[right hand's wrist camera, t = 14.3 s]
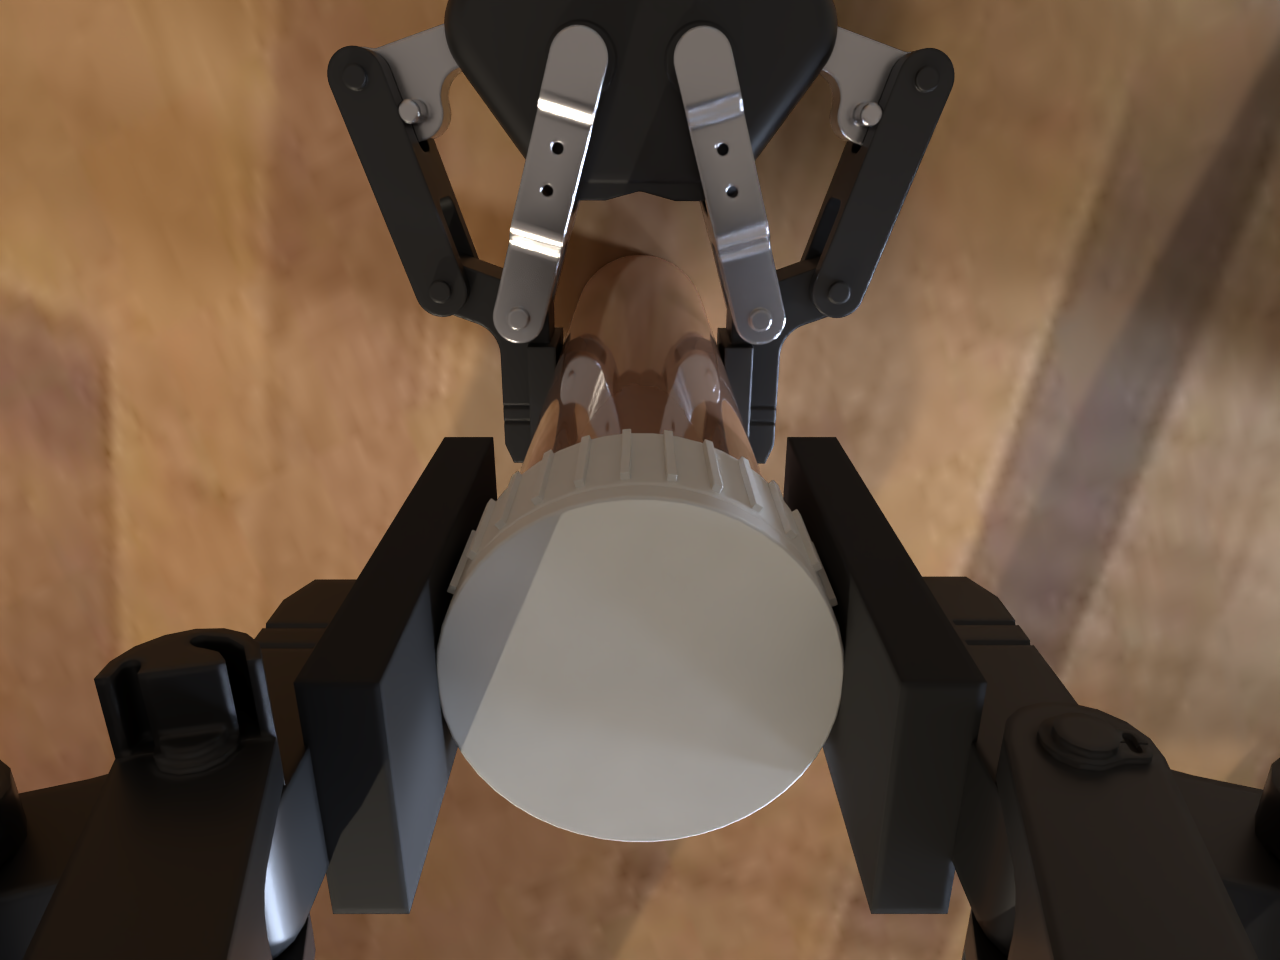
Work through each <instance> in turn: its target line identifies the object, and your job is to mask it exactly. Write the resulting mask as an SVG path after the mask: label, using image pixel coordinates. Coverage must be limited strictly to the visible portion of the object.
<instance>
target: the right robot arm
mask: <svg viewBox="0 0 1280 960" xmlns="http://www.w3.org/2000/svg"><path fill="white" fill-rule="evenodd" d="M490 499H493V500H495V501H497V489H496V473H495V458H494V442H493V437H445V438H444V439H443V441H442V442H441V444H440V446H439V447H438V449H437V450H436V452H435V454H434V455H433V457H432V459H431V460H430V462H429V463H428V465H427V467H426V468H425V470H424V472H423V473H422V475H421V476H420V478H419V480H418V481H417V483H416V485H415V486H414V488H413V489H412V491H411V493H410V494H409V496H408V497H407V499H406V501H405V502H404V504H403V506H402V507H401V509H400V510H399V512H398V514H397V515H396V517H395V519H394V520H393V522H392V523H391V525H390V527H389V528H388V530H387V532H386V533H385V535H384V536H383V538H382V540H381V541H380V543H379V545H378V546H377V548H376V549H375V551H374V553H373V554H372V556H371V557H370V559H369V561H368V562H367V564H366V566H365V567H364V569H363V570H362V572H361V574H360V575H359V577H358V579H357V580H314V581H312V582H311V583H309V584H308V585H306V586H304V587H303V588H301V589H300V590H298V591H297V592H295V593H294V594H292V595H291V596H289V597H287V598H286V599H284V600H283V601H282V603H281V604H280V605H279V607H278V608H277V610H276V611H275V612H274V614H273V615H272V616H271V618H270V619H269V620H268V622H267V623H266V628H262V630H261V631H260V632H259V634H258V635H257V636H256V638H255V639H253V638H252V637H250V636H249V635H248V634H246V633H242V632H238V631H234V630H229V629H225V628H218V629H193V630H188V631H183V632H178V633H173V634H168V635H164V636H161V637H159V638H156V639H153V640H151V641H148V642H145V643H143V644H140V645H137V646H135V647H133V648H131V649H130V650H128V651H126V652H125V653H123V654H122V655H120V656H118V657H117V658H115V659H113V660H112V661H110V662H109V663H108V664H107V665H106V666H105V667H104V668H103V670H102V671H101V672H100V673H99V674H98V675H97V676H96V677H95V678H94V681H95V685H96V689H97V692H98V696H99V700H100V703H101V707H102V711H103V714H104V718H105V722H106V726H107V729H108V733H109V737H110V740H111V744H112V748H113V751H114V755H115V761H114V763H113V765H112V767H111V770H110V772H109V774H106V775H102V776H99V777H95V778H91V779H87V780H83V781H78V782H73V783H68V784H63V785H58V786H53V787H49V788H44V789H39V790H34V791H29V792H24V793H19V794H18V790H17V787H16V784H15V781H14V778H13V775H12V772H11V769H10V768H9V767H8V766H7V765H6V764H5V763H3V762H2V761H1V760H0V960H314V959H315V943H314V936H313V929H312V924H311V918H310V913H309V912H310V909H311V907H312V905H313V902H314V900H315V897H316V895H317V893H318V890H319V888H320V885H321V883H322V881H323V878H324V876H325V874H326V875H327V881H328V887H329V893H330V899H331V904H332V910H333V914H409V913H410V910H411V906H412V903H413V899H414V896H415V893H416V889H417V886H418V882H419V879H420V875H421V872H422V868H423V865H424V862H425V858H426V855H427V851H428V848H429V844H430V841H431V838H432V834H433V831H434V827H435V824H436V820H437V817H438V813H439V810H440V807H441V803H442V800H443V796H444V793H445V789H446V786H447V782H448V779H449V776H450V772H451V769H452V765H453V762H454V758H455V755H456V752H457V748H458V746H457V744H456V742H455V741H454V739H453V737H452V735H451V733H450V730H449V728H448V725H447V723H446V721H445V718H444V716H443V712H442V708H441V704H440V696H439V686H438V676H437V664H436V654H437V645H438V640H439V636H440V631H441V627H442V623H443V621H444V618H445V616H446V613H447V610H448V608H449V605H450V603H451V600H452V598H453V595H454V594H451V593H449V592H447V590H448V587H449V585H450V583H451V580H452V578H453V575H454V573H455V570H456V568H457V565H458V563H459V561H460V558H461V556H462V553H463V551H464V548H465V546H466V544H467V541H468V539H469V536H470V534H471V531H472V530H474V531H476V530H477V527H478V525H479V522H480V520H481V517H482V515H483V512H484V510H485V507H486V505H487V503H488V502H489V500H490ZM783 499H784V502H785V503H786V504H787V506H788V507H789V508H790V510H791V511H794V510H796V509H797V510H798V511H799V513H800V514H801V517H802V519H803V522H804V524H805V527H806V529H807V531H808V534H809V536H810V539H811V541H812V542H813V543H814V546H815V548H816V550H817V553H818V555H819V558H820V560H821V563H822V565H823V567H824V570H825V572H826V575H827V577H828V580H829V582H830V584H831V587H832V589H833V592H834V594H835V597H836V600H837V603H838V605H836V606H833V607H832V609H833V611H834V614H835V617H836V619H837V622H838V625H839V628H840V633H841V638H842V643H843V647H844V672H843V682H842V692H841V701H840V706H839V710H838V714H837V717H836V720H835V722H834V724H833V727H832V729H831V731H830V734H829V736H828V738H827V740H826V742H825V743H824V745H823V750H824V753H825V757H826V760H827V763H828V767H829V770H830V774H831V777H832V781H833V784H834V787H835V791H836V794H837V798H838V801H839V805H840V808H841V812H842V815H843V818H844V822H845V825H846V829H847V832H848V836H849V839H850V843H851V846H852V849H853V853H854V856H855V860H856V863H857V867H858V870H859V873H860V877H861V880H862V884H863V887H864V891H865V894H866V898H867V901H868V904H869V908H870V911H871V914H947V913H948V908H949V902H950V896H951V890H952V884H953V879H954V873H955V870H956V872H957V875H958V877H959V879H960V882H961V884H962V887H963V889H964V891H965V894H966V896H967V899H968V901H969V903H970V906H971V913H970V918H969V924H968V929H967V934H966V940H965V945H964V951H963V956H962V960H1280V758H1279V759H1277V760H1276V761H1275V762H1274V763H1273V764H1272V765H1271V768H1270V771H1269V774H1268V777H1267V780H1266V784H1265V787H1264V790H1261V789H1256V788H1251V787H1247V786H1242V785H1237V784H1232V783H1227V782H1222V781H1217V780H1212V779H1208V778H1203V777H1198V776H1193V775H1189V774H1186V773H1182V772H1178V771H1174V770H1171V769H1170V768H1169V766H1168V764H1167V761H1166V759H1165V757H1164V756H1163V755H1162V754H1161V752H1160V751H1159V750H1158V748H1157V747H1156V746H1155V744H1154V743H1153V742H1152V741H1151V739H1150V738H1148V737H1147V736H1146V735H1144V734H1143V733H1141V732H1140V731H1138V730H1137V729H1136V728H1134V727H1133V726H1131V725H1130V724H1129V723H1127V722H1125V721H1123V720H1121V719H1118V718H1116V717H1114V716H1112V715H1109V714H1107V713H1105V712H1102V711H1100V710H1098V709H1093V708H1089V707H1085V706H1080V705H1078V704H1077V702H1076V701H1075V700H1074V698H1073V697H1072V696H1071V694H1070V693H1069V692H1068V690H1067V689H1066V688H1065V686H1064V685H1063V684H1062V682H1061V681H1060V680H1059V678H1058V677H1057V676H1056V674H1055V673H1054V672H1053V670H1052V669H1051V668H1050V666H1049V665H1048V664H1047V662H1046V661H1045V660H1044V658H1043V657H1042V656H1041V654H1040V653H1039V652H1038V650H1037V649H1036V648H1035V646H1034V645H1030V640H1029V638H1028V637H1027V636H1026V634H1025V633H1024V632H1023V630H1022V629H1021V628H1020V626H1019V625H1015V620H1014V618H1013V617H1012V616H1011V614H1010V613H1009V612H1008V610H1007V609H1006V608H1005V606H1004V605H1003V604H1002V602H1001V601H1000V600H999V598H998V597H997V596H995V595H994V594H992V593H991V592H989V591H987V590H986V589H984V588H983V587H981V586H980V585H978V584H976V583H975V582H973V581H972V580H970V579H969V578H967V577H922V576H921V574H920V573H919V571H918V569H917V568H916V566H915V565H914V563H913V561H912V560H911V558H910V557H909V555H908V553H907V552H906V550H905V548H904V547H903V545H902V544H901V542H900V540H899V539H898V537H897V535H896V534H895V532H894V531H893V529H892V527H891V526H890V524H889V522H888V521H887V519H886V518H885V516H884V514H883V513H882V511H881V510H880V508H879V506H878V505H877V503H876V501H875V500H874V498H873V497H872V495H871V493H870V492H869V490H868V488H867V487H866V485H865V484H864V482H863V480H862V479H861V477H860V475H859V474H858V472H857V471H856V469H855V467H854V466H853V464H852V463H851V461H850V459H849V458H848V456H847V454H846V453H845V451H844V450H843V448H842V446H841V445H840V443H839V441H838V440H837V438H836V437H787V451H786V466H785V482H784V497H783Z"/></svg>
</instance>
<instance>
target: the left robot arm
mask: <svg viewBox="0 0 1280 960" xmlns="http://www.w3.org/2000/svg"><path fill="white" fill-rule="evenodd" d="M461 72H463V73H464V75H465V76H466V77H467V79H468V80H469V81H470V83H471V84H472V86H473V87H474V88H475V90H476V91H477V93H478V94H479V95H480V97H481V98H482V100H483V101H484V102H485V104H486V105H487V106H488V108H489V109H490V111H491V112H492V113H493V115H494V116H495V118H496V119H497V120H498V122H499V123H500V125H501V126H502V127H503V129H504V130H505V132H506V133H507V134H508V136H509V137H510V138H511V140H512V141H513V143H514V144H515V145H516V147H517V148H518V150H519V151H520V152H521V154H522V155H523V157H524V158H525V159H526V161H525V166H524V170H523V174H522V179H521V183H520V188H519V192H518V196H517V201H516V205H515V209H514V214H513V218H512V223H511V228H510V240H509V246H508V250H507V255H506V259H505V264H504V268H501V267H498V266H495V265H493V264H490V263H487V262H485V261H482V260H479V258H478V256H477V253H476V250H475V248H474V245H473V242H472V240H471V237H470V234H469V232H468V229H467V226H466V224H465V221H464V218H463V216H462V213H461V210H460V208H459V205H458V202H457V200H456V197H455V194H454V192H453V189H452V187H451V184H450V181H449V179H448V176H447V173H446V171H445V168H444V165H443V163H442V160H441V157H440V155H439V152H438V149H437V147H436V144H435V141H434V139H435V138H437V137H439V136H441V135H442V134H443V133H444V132H445V131H446V130H447V128H448V126H449V124H450V120H451V108H450V104H449V89H450V85H451V83H452V81H453V80H454V78H455V77H456V76H457V75H458V74H459V73H461ZM819 74H820V75H821V76H823V77H824V78H825V79H826V80H827V82H828V83H829V85H830V88H831V91H832V106H831V110H830V124H831V127H832V130H833V131H834V133H835V134H836V135H837V136H838V137H839V138H840V139H842V140H844V141H846V142H847V143H846V145H845V148H844V150H843V153H842V155H841V158H840V161H839V163H838V166H837V168H836V171H835V173H834V176H833V179H832V181H831V184H830V186H829V189H828V191H827V194H826V196H825V199H824V202H823V204H822V207H821V209H820V212H819V214H818V217H817V220H816V222H815V225H814V227H813V230H812V232H811V235H810V238H809V240H808V243H807V245H806V248H805V250H804V253H803V255H802V258H801V261H800V262H798V263H795V264H792V265H789V266H787V267H784V268H781V269H778V270H776V269H775V264H774V260H773V255H772V251H771V245H770V232H769V226H768V221H767V216H766V212H765V207H764V202H763V198H762V193H761V188H760V184H759V179H758V175H757V170H756V165H755V160H756V159H757V157H758V156H759V155H760V153H761V152H762V151H763V149H764V148H765V147H766V145H767V144H768V142H769V141H770V140H771V138H772V137H773V136H774V134H775V133H776V132H777V130H778V129H779V128H780V126H781V125H782V123H783V122H784V121H785V119H786V118H787V117H788V115H789V114H790V113H791V111H792V110H793V109H794V107H795V106H796V104H797V103H798V102H799V100H800V99H801V98H802V96H803V95H804V94H805V92H806V91H807V90H808V88H809V87H810V86H811V84H812V83H813V81H814V80H815V79H816V77H817V76H818V75H819ZM327 77H328V82H329V85H330V88H331V90H332V93H333V95H334V97H335V100H336V102H337V105H338V107H339V110H340V112H341V115H342V117H343V119H344V122H345V124H346V127H347V129H348V132H349V134H350V137H351V139H352V141H353V144H354V146H355V149H356V151H357V154H358V156H359V159H360V161H361V163H362V166H363V168H364V171H365V173H366V176H367V178H368V181H369V183H370V185H371V188H372V190H373V193H374V195H375V198H376V200H377V203H378V205H379V207H380V210H381V212H382V215H383V217H384V220H385V222H386V225H387V227H388V230H389V232H390V234H391V237H392V239H393V242H394V244H395V247H396V249H397V252H398V254H399V256H400V259H401V261H402V264H403V266H404V269H405V271H406V274H407V276H408V278H409V281H410V283H411V286H412V288H413V291H414V293H415V296H416V298H417V300H418V302H419V304H420V305H421V307H422V308H423V309H424V310H426V311H427V312H428V313H430V314H432V315H435V316H439V317H447V316H451V315H455V316H457V317H460V318H463V319H466V320H468V321H471V322H474V323H477V324H479V325H481V326H483V327H485V328H486V329H488V330H489V331H490V332H491V333H492V334H493V336H494V337H495V338H496V340H497V342H498V344H499V348H500V353H501V370H502V389H503V405H504V421H505V423H504V427H505V444H506V446H507V449H508V451H509V453H510V455H511V457H512V459H513V461H514V463H523V462H524V459H525V456H526V453H527V450H528V447H529V444H530V441H531V438H532V435H533V432H534V429H535V426H536V424H537V421H538V418H539V415H540V412H541V409H542V406H543V403H544V400H545V397H546V394H547V391H548V388H549V386H550V383H551V380H552V377H553V374H554V371H555V368H556V365H557V362H558V359H559V356H560V353H561V350H562V348H563V328H555V324H554V299H555V295H556V291H557V287H558V283H559V279H560V275H561V271H562V267H563V263H564V259H565V255H566V251H567V247H568V244H569V240H570V237H571V234H572V230H573V227H574V223H575V219H576V215H577V211H578V207H579V203H580V200H608V199H612V198H616V197H619V196H623V195H627V194H630V193H634V192H638V191H642V192H646V193H649V194H653V195H656V196H660V197H663V198H667V199H670V200H674V201H700V205H701V209H702V213H703V217H704V221H705V225H706V229H707V233H708V236H709V240H710V243H711V247H712V251H713V255H714V259H715V263H716V268H717V272H718V276H719V280H720V284H721V288H722V292H723V297H724V301H725V305H726V308H727V318H726V328H718V333H717V347H718V350H719V353H720V356H721V358H722V361H723V364H724V367H725V370H726V373H727V376H728V379H729V382H730V385H731V388H732V390H733V393H734V396H735V399H736V402H737V405H738V408H739V411H740V414H741V417H742V420H743V423H744V425H745V428H746V431H747V434H748V437H749V440H750V443H751V446H752V449H753V452H754V455H755V457H756V460H757V463H765V462H766V460H767V458H768V456H769V454H770V452H771V450H772V448H773V446H774V437H775V421H776V406H777V391H778V375H779V360H780V351H781V347H782V345H783V343H784V341H785V339H786V338H787V336H788V335H789V334H790V333H791V332H792V331H794V330H795V329H797V328H798V327H800V326H803V325H805V324H808V323H811V322H814V321H817V320H820V319H822V318H825V317H832V318H841V317H845V316H847V315H849V314H851V313H853V312H854V311H855V310H856V309H857V308H858V307H859V305H860V304H861V302H862V300H863V298H864V295H865V293H866V290H867V288H868V286H869V283H870V281H871V279H872V276H873V274H874V272H875V269H876V267H877V264H878V262H879V260H880V257H881V255H882V253H883V250H884V248H885V245H886V243H887V241H888V238H889V236H890V234H891V231H892V229H893V227H894V224H895V222H896V219H897V217H898V215H899V212H900V210H901V208H902V205H903V203H904V200H905V198H906V196H907V193H908V191H909V189H910V186H911V184H912V182H913V179H914V177H915V174H916V172H917V170H918V167H919V165H920V163H921V160H922V158H923V155H924V153H925V151H926V148H927V146H928V144H929V141H930V139H931V137H932V134H933V132H934V129H935V127H936V125H937V122H938V120H939V118H940V115H941V113H942V110H943V108H944V106H945V103H946V101H947V99H948V96H949V94H950V92H951V89H952V86H953V83H954V68H953V64H952V62H951V60H950V59H949V57H948V56H947V55H946V54H945V53H944V52H942V51H940V50H938V49H934V48H925V49H920V50H916V51H913V52H904V51H901V50H899V49H896V48H894V47H891V46H888V45H886V44H883V43H880V42H878V41H875V40H872V39H870V38H867V37H865V36H862V35H859V34H857V33H854V32H851V31H849V30H846V29H843V28H841V27H838V22H837V14H836V9H835V6H834V3H833V0H449V1H448V3H447V7H446V11H445V19H444V24H442V25H439V26H436V27H433V28H431V29H428V30H425V31H422V32H420V33H417V34H414V35H411V36H409V37H406V38H403V39H400V40H398V41H395V42H392V43H389V44H387V45H384V46H381V47H378V48H368V47H358V46H346V47H343V48H341V49H339V50H338V51H337V52H336V53H334V55H333V56H332V57H331V59H330V61H329V65H328V70H327Z"/></svg>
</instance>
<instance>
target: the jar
mask: <svg viewBox="0 0 1280 960" xmlns="http://www.w3.org/2000/svg"><path fill="white" fill-rule="evenodd" d="M623 429H631V433H655V434H664V430H668V431H673V436H678V437H682V438H685V439H689V440H693V441H697V442H701V443H703V442H704V440H705V439H706V440H709V441H712V442H713V446H714V448H716V449H718V450H721V451H723V452H725V453H727V454H728V455H730V456H732V457H734V458H736V459H737V460H739V459H740V458H741V457H742V456H743V457H744V458H746V459H747V460H748V461H749V464H750V467H751V469H752V470H754V471H755V472H756V473H758V474H759V475H760V476H761V477H762V475H761V472H760V469H759V466H758V463H757V460H756V457H755V455H754V452H753V449H752V446H751V443H750V440H749V437H748V434H747V431H746V428H745V425H744V423H743V420H742V417H741V414H740V411H739V408H738V405H737V402H736V399H735V396H734V393H733V390H732V388H731V385H730V382H729V379H728V376H727V373H726V370H725V367H724V364H723V361H722V358H721V356H720V353H719V350H718V347H717V344H716V341H715V338H714V335H713V332H712V329H711V326H710V323H709V321H708V318H707V315H706V312H705V309H704V306H703V303H702V300H701V298H700V295H699V292H698V290H697V289H696V287H695V285H694V283H693V282H692V281H691V279H690V278H689V277H688V276H687V275H686V274H685V273H684V272H683V271H682V270H681V269H680V268H678V267H677V266H676V265H674V264H672V263H670V262H669V261H666V260H664V259H662V258H658V257H654V256H649V255H632V256H626V257H622V258H619V259H616V260H614V261H612V262H610V263H608V264H606V265H605V266H603V267H602V268H601V269H599V270H598V271H597V272H596V273H595V274H594V275H593V276H592V277H591V278H590V280H589V281H588V282H587V284H586V285H585V287H584V289H583V291H582V293H581V295H580V298H579V301H578V304H577V307H576V310H575V312H574V315H573V318H572V321H571V324H570V327H569V330H568V333H567V336H566V339H565V342H564V345H563V348H562V350H561V353H560V356H559V359H558V362H557V365H556V368H555V371H554V374H553V377H552V380H551V383H550V386H549V388H548V391H547V394H546V397H545V400H544V403H543V406H542V409H541V412H540V415H539V418H538V421H537V424H536V426H535V429H534V432H533V435H532V438H531V441H530V444H529V447H528V450H527V453H526V456H525V459H524V462H523V464H522V467H521V470H520V474H523V473H524V472H526V471H527V470H528V469H530V468H531V467H532V466H534V465H535V464H536V463H538V462H539V461H541V460H542V459H543V455H544V453H545V452H547V451H549V450H552V451H553V453H556V452H558V451H559V450H562V449H565V448H567V447H570V446H572V445H575V444H577V443H580V442H581V438H582V437H584V436H587V435H590V438H591V439H595V438H599V437H603V436H610V435H618V434H622V430H623Z"/></svg>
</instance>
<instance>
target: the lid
mask: <svg viewBox="0 0 1280 960" xmlns="http://www.w3.org/2000/svg"><path fill="white" fill-rule="evenodd" d="M447 592H449V593H451V594H454V595H453V598H452V600H451V603H450V605H449V608H448V610H447V613H446V616H445V618H444V621H443V623H442V627H441V631H440V636H439V640H438V645H437V654H436V664H437V676H438V686H439V696H440V704H441V708H442V712H443V716H444V718H445V721H446V723H447V725H448V728H449V730H450V733H451V735H452V737H453V739H454V741H455V742H456V744H457V746H458V747H459V749H460V751H461V752H462V754H463V756H464V757H465V759H466V760H467V761H468V762H469V764H470V765H471V766H472V767H473V769H474V770H475V771H476V772H477V774H478V775H479V776H480V777H481V778H482V779H483V780H484V781H485V782H486V783H487V784H488V785H489V786H491V787H492V788H493V789H494V790H495V791H496V792H497V793H499V794H500V795H501V796H503V797H504V798H505V799H506V800H508V801H509V802H510V803H512V804H513V805H515V806H516V807H518V808H520V809H521V810H523V811H525V812H527V813H528V814H530V815H532V816H533V817H535V818H538V819H540V820H542V821H544V822H546V823H549V824H551V825H553V826H555V827H558V828H561V829H565V830H568V831H571V832H574V833H577V834H581V835H585V836H590V837H595V838H600V839H606V840H615V841H625V842H655V841H665V840H676V839H681V838H686V837H691V836H695V835H700V834H703V833H707V832H710V831H713V830H716V829H719V828H722V827H725V826H727V825H729V824H732V823H734V822H736V821H739V820H741V819H743V818H745V817H747V816H749V815H751V814H752V813H754V812H756V811H757V810H759V809H761V808H763V807H764V806H766V805H767V804H769V803H770V802H771V801H773V800H774V799H775V798H777V797H778V796H779V795H781V794H782V793H783V792H785V791H786V790H787V789H788V788H789V787H790V786H791V785H792V784H793V783H794V782H795V781H796V780H797V779H798V778H799V777H800V776H801V775H802V774H803V773H804V772H805V770H806V769H807V768H808V767H809V766H810V764H811V763H812V762H813V761H814V759H815V758H816V757H817V755H818V753H819V752H820V750H821V748H822V747H823V745H824V743H825V742H826V740H827V738H828V736H829V734H830V731H831V729H832V727H833V724H834V722H835V720H836V717H837V714H838V710H839V706H840V701H841V692H842V682H843V672H844V647H843V643H842V638H841V633H840V628H839V625H838V622H837V619H836V617H835V614H834V611H833V609H832V607H833V606H836V605H838V603H837V600H836V597H835V594H834V592H833V589H832V587H831V584H830V582H829V580H828V577H827V575H826V572H825V570H824V567H823V565H822V563H821V560H820V558H819V555H818V553H817V550H816V548H815V546H814V543H813V542H812V541H811V539H810V536H809V534H808V531H807V529H806V527H805V524H804V522H803V519H802V517H801V514H800V513H799V511H798V510H797V509H796V510H794V511H791V510H790V508H789V507H788V506H787V504H786V503H785V502H784V499H783V496H782V494H781V491H780V489H779V486H778V484H777V483H776V482H775V481H774V480H772V481H771V482H770V483H768V482H767V481H766V480H765V479H764V478H762V477H761V476H760V475H759V474H758V473H756V472H755V471H754V470H752V469H751V467H750V464H749V461H748V460H747V459H746V458H744V457H743V456H742V457H741V458H740V459H739V460H737V459H736V458H734V457H732V456H730V455H728V454H727V453H725V452H723V451H721V450H718V449H716V448H714V446H713V442H712V441H709V440H706V439H705V440H704V442H703V443H701V442H697V441H693V440H689V439H685V438H682V437H678V436H673V431H668V430H664V434H655V433H631V429H623V430H622V434H618V435H610V436H603V437H599V438H595V439H591V438H590V435H587V436H584V437H582V438H581V442H580V443H577V444H575V445H572V446H570V447H567V448H565V449H562V450H559V451H558V452H556V453H553V451H552V450H549V451H547V452H545V453H544V455H543V459H542V460H541V461H539V462H538V463H536V464H535V465H534V466H532V467H531V468H530V469H528V470H527V471H526V472H524V473H523V474H520V473H519V472H518V471H517V472H516V473H515V474H513V475H512V477H511V480H510V483H509V485H508V488H507V489H506V490H505V491H504V492H503V493H502V495H501V496H500V497H499V498H498V500H497V501H495V500H493V499H490V500H489V502H488V503H487V505H486V507H485V510H484V512H483V515H482V517H481V520H480V522H479V525H478V527H477V530H476V531H474V530H472V531H471V534H470V536H469V539H468V541H467V544H466V546H465V548H464V551H463V553H462V556H461V558H460V561H459V563H458V565H457V568H456V570H455V573H454V575H453V578H452V580H451V583H450V585H449V587H448V590H447Z"/></svg>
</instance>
